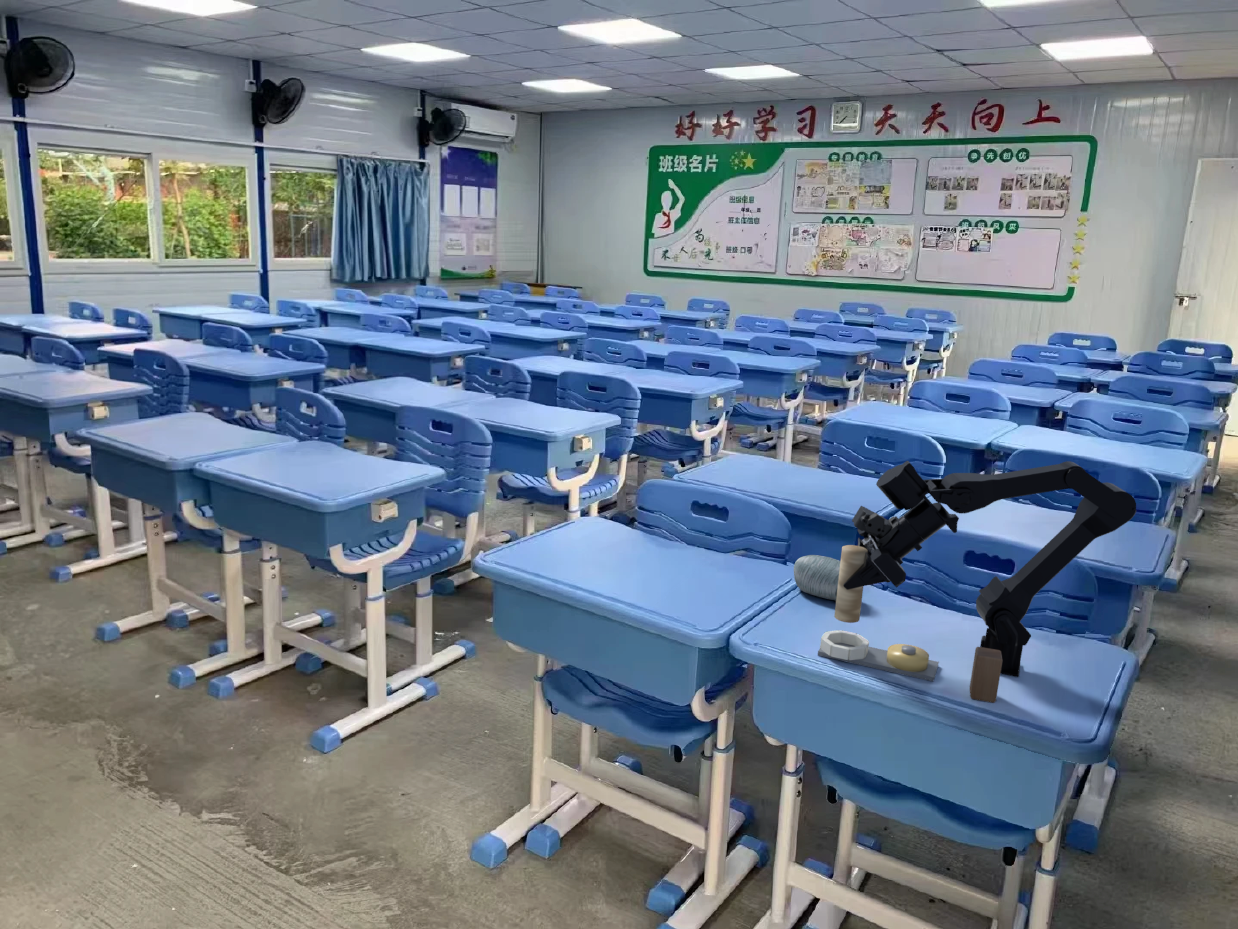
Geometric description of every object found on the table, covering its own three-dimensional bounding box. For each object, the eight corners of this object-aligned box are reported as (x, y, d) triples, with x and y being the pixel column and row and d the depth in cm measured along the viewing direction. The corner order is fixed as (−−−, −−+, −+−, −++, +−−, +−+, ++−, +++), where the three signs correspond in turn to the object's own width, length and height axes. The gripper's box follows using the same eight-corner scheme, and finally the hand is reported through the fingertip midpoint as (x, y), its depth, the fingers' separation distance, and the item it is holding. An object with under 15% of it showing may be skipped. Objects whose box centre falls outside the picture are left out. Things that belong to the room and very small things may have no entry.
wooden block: (969, 689, 160) (975, 645, 158) (994, 693, 159) (1001, 649, 157) (969, 699, 156) (976, 654, 154) (995, 704, 155) (1003, 659, 153)
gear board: (938, 666, 168) (940, 647, 167) (932, 684, 161) (935, 664, 160) (826, 641, 176) (828, 623, 175) (816, 657, 169) (818, 638, 168)
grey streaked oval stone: (871, 584, 198) (854, 546, 194) (850, 614, 193) (833, 576, 189) (817, 580, 208) (800, 544, 205) (796, 608, 203) (778, 572, 199)
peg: (858, 614, 172) (866, 546, 169) (860, 624, 167) (868, 554, 164) (833, 612, 172) (841, 544, 169) (835, 621, 168) (842, 551, 165)
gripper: (875, 481, 173) (808, 534, 177) (894, 509, 155) (819, 567, 159) (913, 525, 174) (846, 577, 178) (937, 558, 156) (862, 615, 160)
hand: (843, 582), depth 168 cm, fingers closed on peg, 4 cm apart
